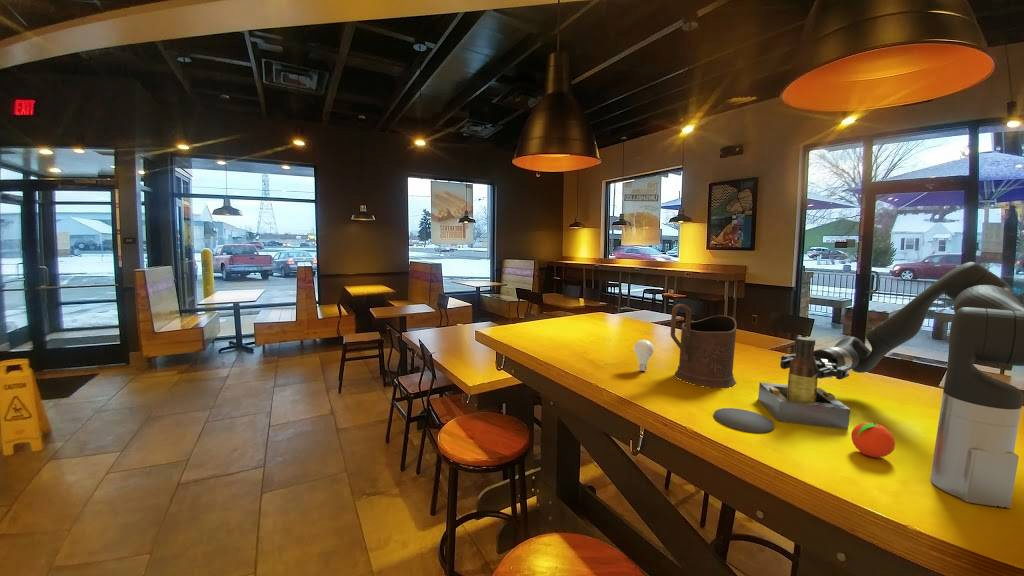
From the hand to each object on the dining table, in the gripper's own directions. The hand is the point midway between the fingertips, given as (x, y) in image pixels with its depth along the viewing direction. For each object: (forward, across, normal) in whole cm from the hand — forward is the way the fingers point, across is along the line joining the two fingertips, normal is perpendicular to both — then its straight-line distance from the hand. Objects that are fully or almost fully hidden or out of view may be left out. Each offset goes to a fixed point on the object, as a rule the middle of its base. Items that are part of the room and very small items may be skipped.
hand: (800, 369), depth 106 cm
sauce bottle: (-2, 0, +12) cm, 12 cm away
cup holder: (-2, -30, +12) cm, 32 cm away
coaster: (+16, -4, +12) cm, 21 cm away
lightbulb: (+8, -44, +12) cm, 46 cm away
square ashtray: (-2, 0, +12) cm, 12 cm away
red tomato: (+9, +18, +12) cm, 24 cm away
